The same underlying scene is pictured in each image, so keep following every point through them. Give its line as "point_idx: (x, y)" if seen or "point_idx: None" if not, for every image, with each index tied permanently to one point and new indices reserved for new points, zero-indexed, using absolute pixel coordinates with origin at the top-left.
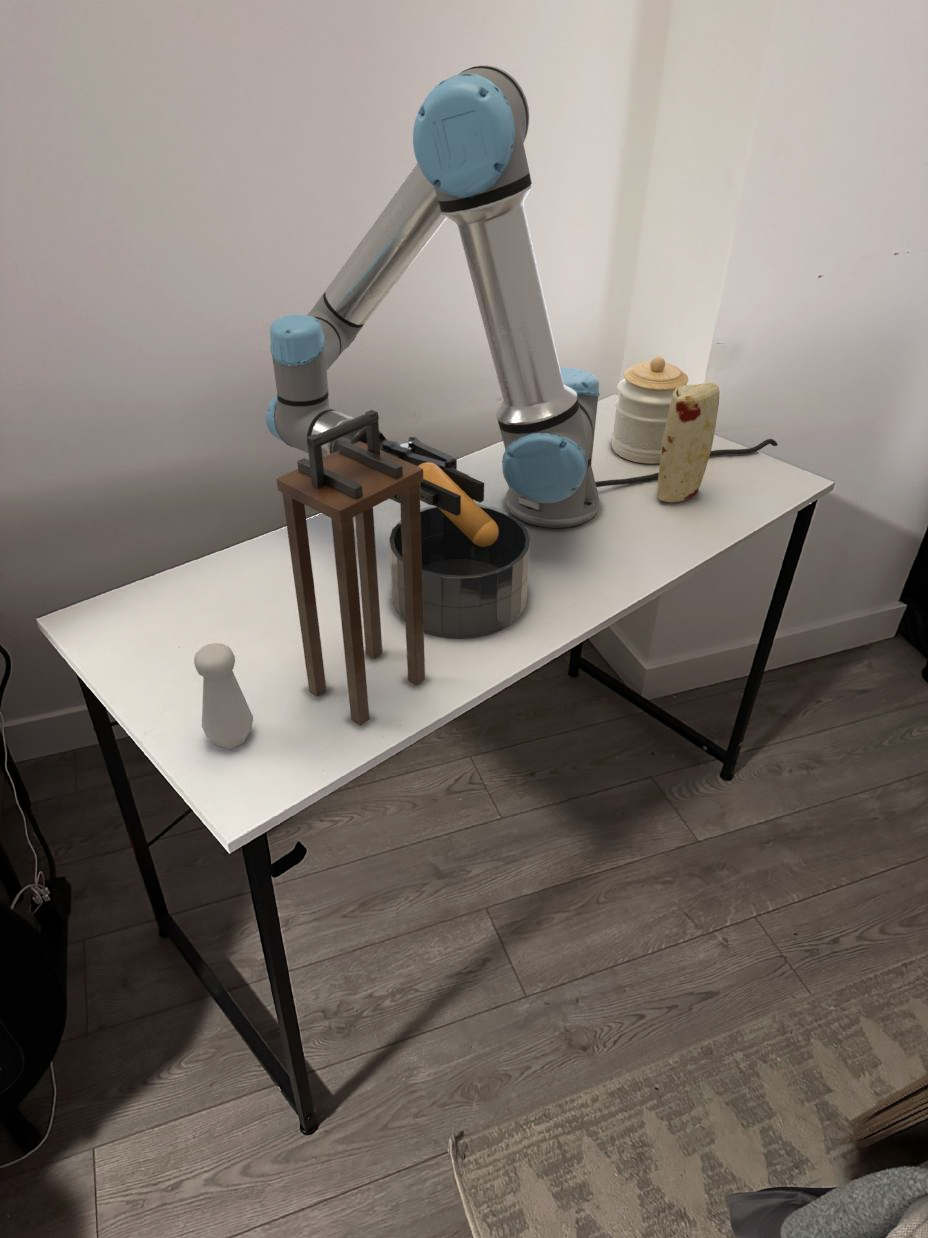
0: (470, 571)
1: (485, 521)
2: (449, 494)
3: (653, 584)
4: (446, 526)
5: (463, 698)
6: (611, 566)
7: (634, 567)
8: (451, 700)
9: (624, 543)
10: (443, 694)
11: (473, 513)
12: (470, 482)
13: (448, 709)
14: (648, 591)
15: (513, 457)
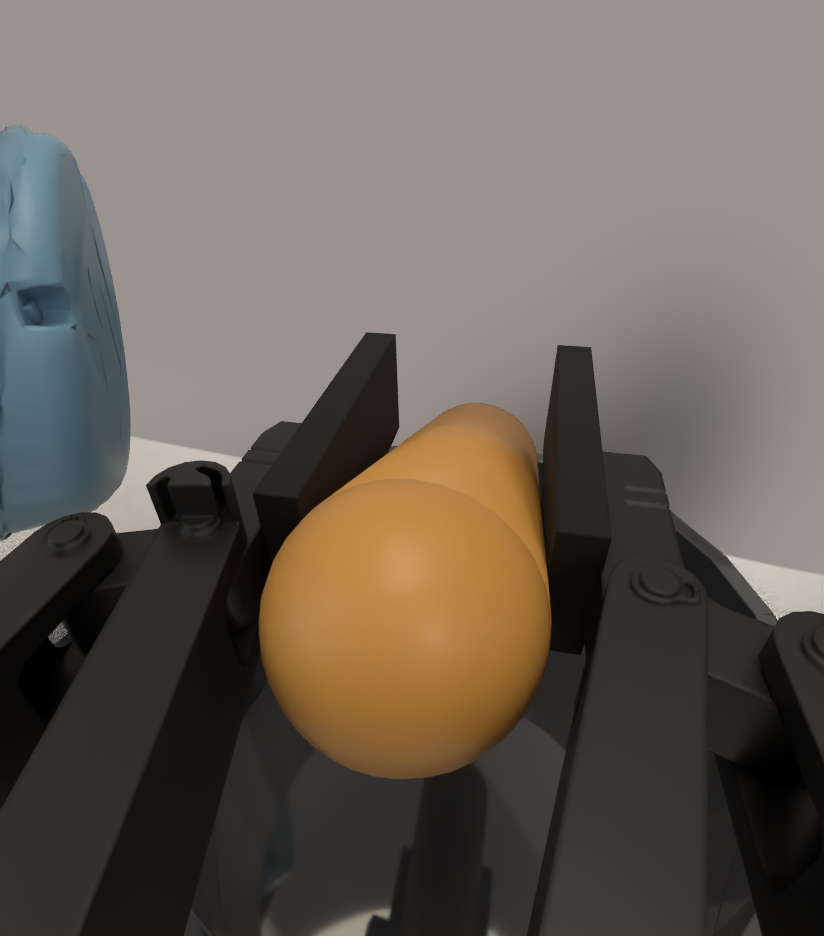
0: (299, 808)
1: (489, 405)
2: (593, 373)
3: (203, 456)
4: (198, 908)
5: (761, 570)
6: (149, 520)
7: (145, 490)
8: (791, 585)
9: (35, 529)
10: (797, 605)
11: (498, 417)
12: (377, 378)
13: (814, 577)
14: (231, 456)
15: (70, 309)
